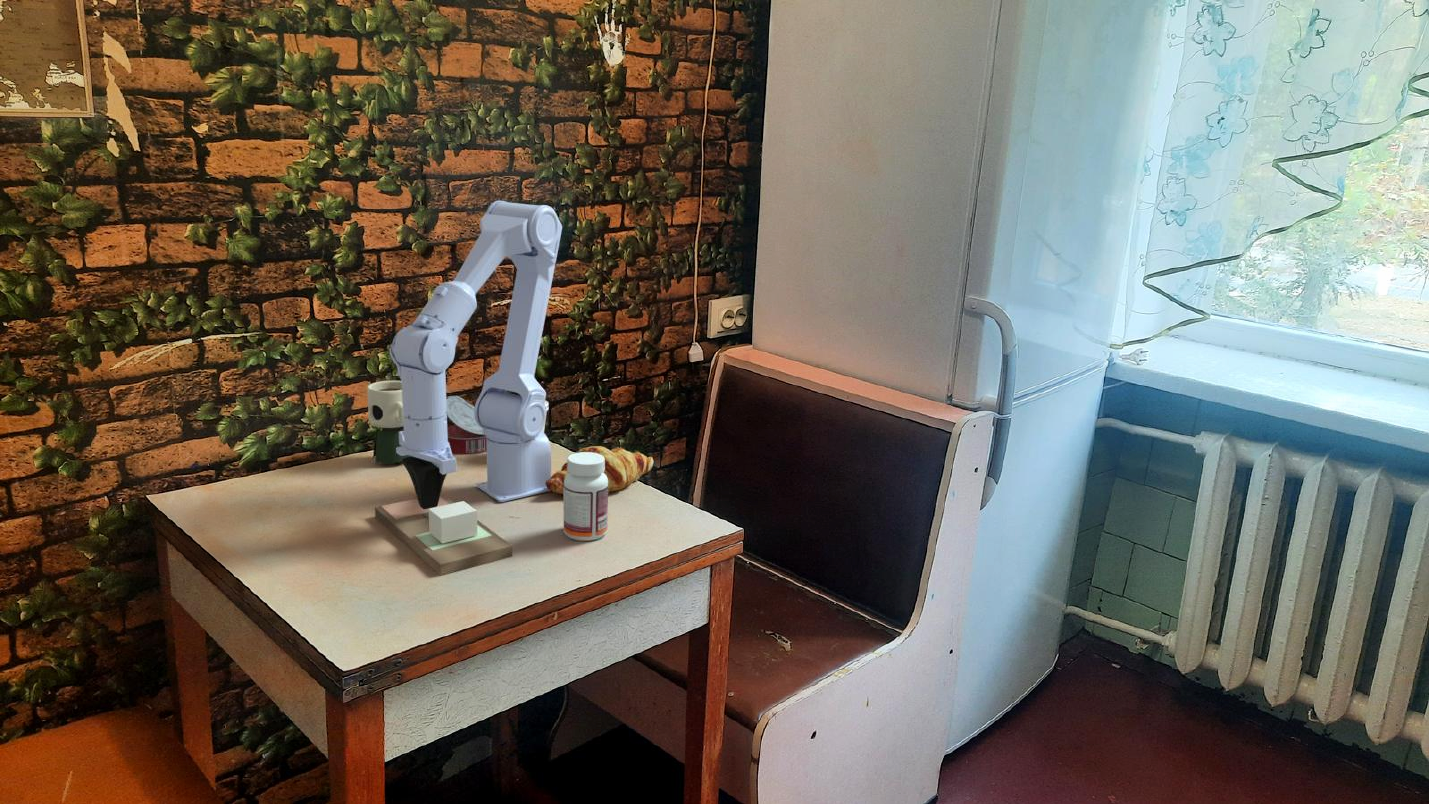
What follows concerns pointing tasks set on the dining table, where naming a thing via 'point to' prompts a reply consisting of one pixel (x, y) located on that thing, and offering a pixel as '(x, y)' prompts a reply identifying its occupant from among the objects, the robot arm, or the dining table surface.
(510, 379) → the robot arm
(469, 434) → the canned food
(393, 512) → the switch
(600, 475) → the pill bottle
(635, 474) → the croissant
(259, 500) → the dining table surface
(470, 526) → the white block
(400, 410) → the character mug
